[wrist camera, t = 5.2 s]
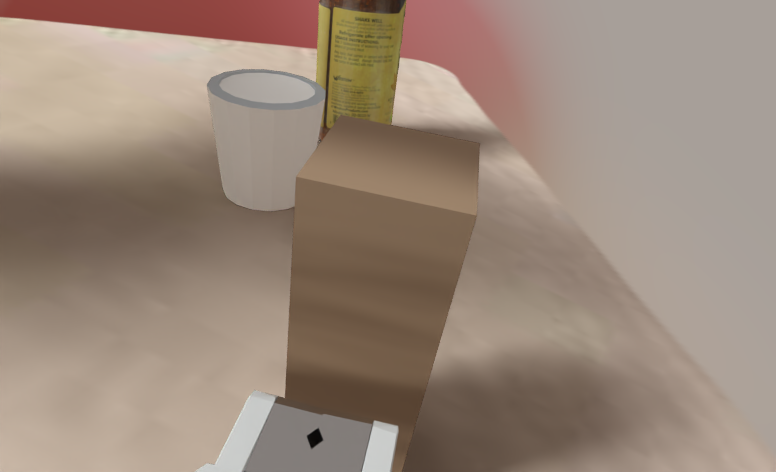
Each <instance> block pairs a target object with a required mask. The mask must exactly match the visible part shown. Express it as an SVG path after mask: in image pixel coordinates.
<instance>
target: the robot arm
mask: <svg viewBox="0 0 776 472" xmlns="http://www.w3.org/2000/svg"><path fill="white" fill-rule="evenodd" d="M372 424H373V425H372ZM371 429H372V430H371ZM398 432H399V430H398V426H397V425H393V424H388V423H384V422H379V421H375V420H374V421H373V419H371V418H366V417H362V416H358V415H353V414H349V413H345V412H340V411H336V410H332V409H327V408H326V409H324V408H321V407H317V406H313V405H309V404H305V403H302V402H298V401H294V400H290V399H286V398H283V397H279V396H276V395H272V394H268V393H264V392H260V391H256V390H254V391H253V392H252V394H251V395H250V396H249V397H248V399H247V401H246V403H245V405H244V407H243V409H242V411H241V413H240V415H239V417H238V419H237V421H236V423H235V425H234V427H233V429H232V431H231V433H230V435H229V437H228V439H227V441H226V443H225V445H224V447H223V449H222V451H221V453H220V455H219V457H218V459H217V461H216V463H215V465H214V464H210V463H207V464H205V465H204V466H202V467H201V468H199V469H198V470H197V471H195V472H392V466H393V460H394V455H395V449H396V444H397V438H398Z"/></svg>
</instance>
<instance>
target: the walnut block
mask: <svg viewBox="0 0 776 472" xmlns="http://www.w3.org/2000/svg"><path fill="white" fill-rule="evenodd" d="M479 148H480V143H476V142H471V141H466V140H461V139H456V138H452V137H447V136H442V135H437V134H432V133H427V132H423V131H418V130H413V129H408V128H403V127H398V126H393V125H389V124H384V123H379V122H374V121H369V120H364V119H360V118H355V117H350V116H345V115H340V116H339V118H338V119H337V121H336V122H335V123H334V125H333V126H332V127H331V129H330V130H329V132H328V133H327V134H326V136H325V137H324V139H323V140H322V141H321V143H320V144H319V145H318V147H317V148H316V150H315V151H314V152H313V154H312V155H311V156H310V158H309V159H308V161H307V162H306V163H305V165H304V166H303V168H302V169H301V170H300V172H299V173H298V174H297V176H296V185H295V205H294V226H293V246H292V267H291V287H290V307H289V328H288V348H287V369H286V389H285V398H286V399H290V400H294V401H298V402H302V403H305V404H309V405H313V406H317V407H321V408H324V409H326V408H327V409H332V410H336V411H340V412H345V413H349V414H353V415H358V416H362V417H366V418H371V419H373V421H374V420H375V421H379V422H384V423H388V424H393V425H397V426H398V430H399V432H398V438H397V444H396V449H395V455H394V460H393V466H392V472H402V469H403V465H404V462H405V458H406V455H407V452H408V448H409V445H410V441H411V438H412V435H413V431H414V428H415V424H416V421H417V418H418V414H419V411H420V407H421V404H422V401H423V397H424V394H425V390H426V387H427V384H428V380H429V377H430V373H431V370H432V367H433V363H434V360H435V356H436V353H437V350H438V346H439V343H440V339H441V336H442V333H443V329H444V326H445V322H446V319H447V316H448V312H449V309H450V305H451V302H452V299H453V295H454V292H455V288H456V285H457V281H458V278H459V275H460V271H461V268H462V264H463V261H464V258H465V254H466V251H467V247H468V244H469V241H470V237H471V234H472V230H473V227H474V224H475V220H476V217H477V199H478V173H479ZM372 425H373V424H372ZM371 430H372V429H371Z"/></svg>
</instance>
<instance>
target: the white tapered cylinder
mask: <svg viewBox="0 0 776 472" xmlns="http://www.w3.org/2000/svg"><path fill="white" fill-rule="evenodd" d="M207 90H208V96H209V103H210V109H211V116H212V122H213V129H214V135H215V142H216V148H217V155H218V161H219V168H220V174H221V181H222V187H223V191H224V193H225V195H226V197H227V198H228V199H229V200H231V201H232V202H234V203H235V204H237V205H239V206H242V207H245V208H248V209H252V210H260V211H277V210H285V209H289V208H292V207H294V205H295V185H296V176H297V174H298V173H299V172H300V170H301V169H302V168H303V166H304V165H305V163H306V162H307V161H308V159H309V158H310V156H311V155H312V154H313V152H314V151H315V150H316V148H317V143H318V137H319V132H320V126H321V120H322V114H323V109H324V103H325V93H326V91H325V90H324V89H323V88H322V87H321V86H320V85H319V84H318V83H316V82H314V81H312V80H310V79H307V78H305V77H303V76H299V75H295V74H291V73H287V72H281V71H273V70H264V69H242V70H236V71H229V72H224V73H221V74H219V75H216V76H214V77H212V78H211V79H210V81H209V82H208V84H207Z"/></svg>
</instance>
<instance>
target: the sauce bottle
mask: <svg viewBox="0 0 776 472" xmlns="http://www.w3.org/2000/svg"><path fill="white" fill-rule="evenodd" d="M405 8H406V0H320V1H319V23H318V48H317V73H316V83H318V84H319V85H320V86H321V87H322V88H323V89H324V90H325V91H326V93H325V103H324V109H323V114H322V120H321V126H320V132H319V137H318V138H319V139H320V140H321V141H322V140H323V139H324V137H325V136H326V134H327V133H328V132H329V130H330V129H331V127H332V126H333V125H334V123H335V122H336V121H337V119H338V118H339V116H340V115H345V116H350V117H355V118H360V119H364V120H369V121H374V122H379V123H384V124H389V125H391V123H392V114H393V105H394V98H395V90H396V82H397V74H398V68H399V59H400V47H401V43H402V31H403V23H404V16H405Z"/></svg>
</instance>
